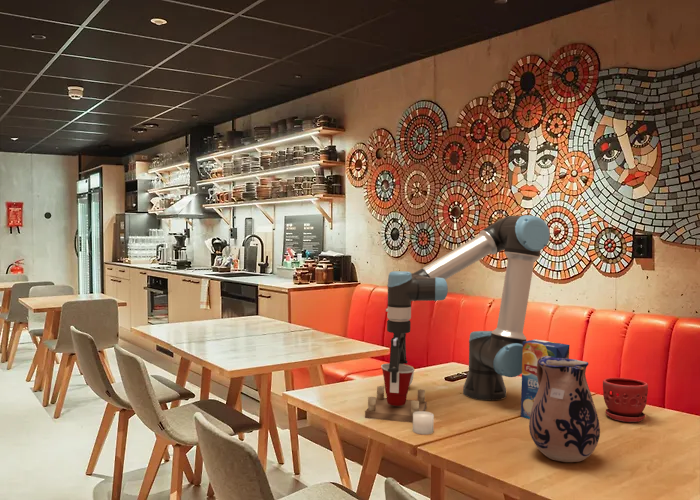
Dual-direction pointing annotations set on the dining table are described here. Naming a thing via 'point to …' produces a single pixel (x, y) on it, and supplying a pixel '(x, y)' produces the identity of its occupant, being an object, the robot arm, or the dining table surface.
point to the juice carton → (529, 368)
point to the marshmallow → (423, 422)
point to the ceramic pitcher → (564, 411)
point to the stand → (394, 407)
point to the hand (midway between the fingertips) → (397, 387)
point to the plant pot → (625, 399)
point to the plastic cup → (404, 382)
